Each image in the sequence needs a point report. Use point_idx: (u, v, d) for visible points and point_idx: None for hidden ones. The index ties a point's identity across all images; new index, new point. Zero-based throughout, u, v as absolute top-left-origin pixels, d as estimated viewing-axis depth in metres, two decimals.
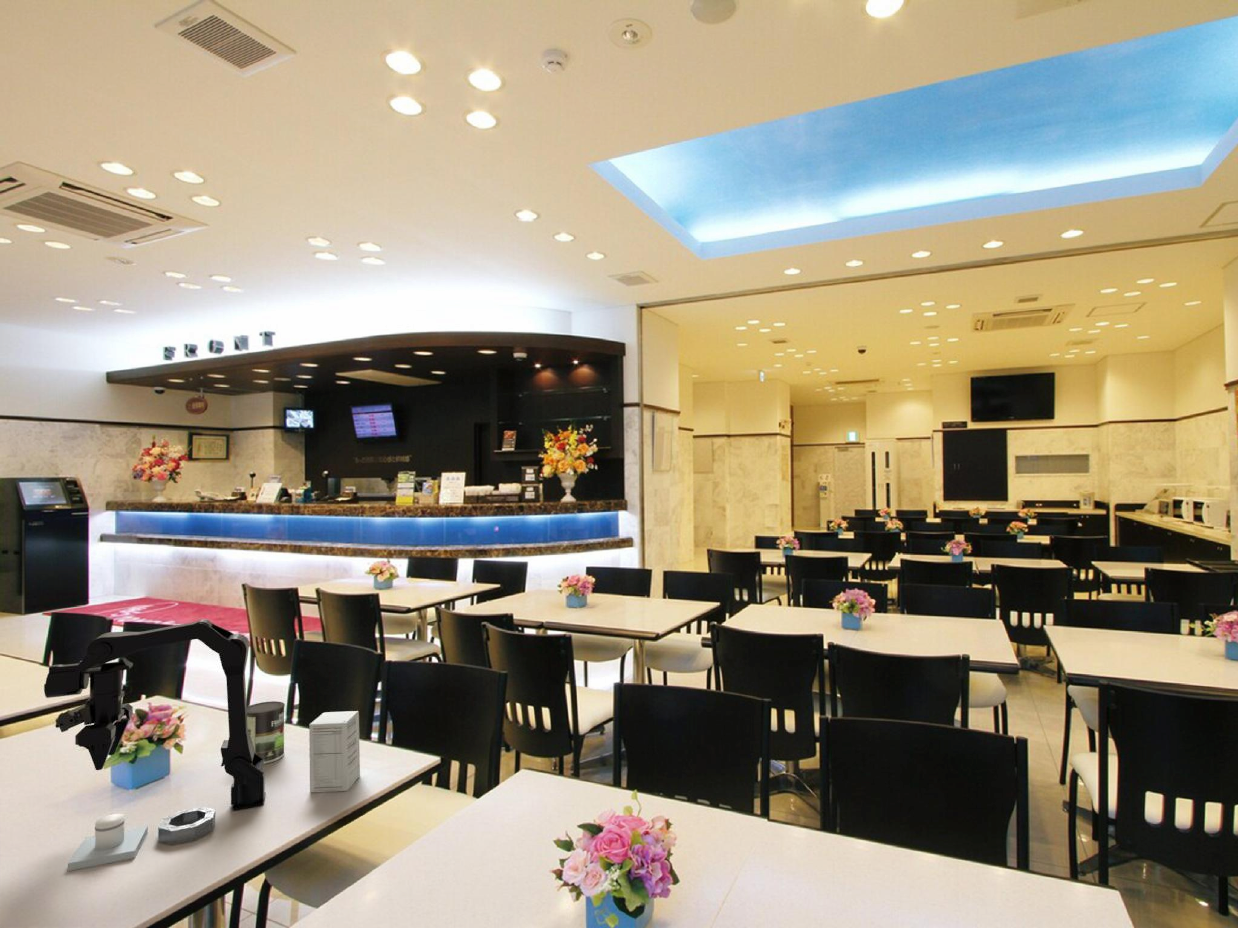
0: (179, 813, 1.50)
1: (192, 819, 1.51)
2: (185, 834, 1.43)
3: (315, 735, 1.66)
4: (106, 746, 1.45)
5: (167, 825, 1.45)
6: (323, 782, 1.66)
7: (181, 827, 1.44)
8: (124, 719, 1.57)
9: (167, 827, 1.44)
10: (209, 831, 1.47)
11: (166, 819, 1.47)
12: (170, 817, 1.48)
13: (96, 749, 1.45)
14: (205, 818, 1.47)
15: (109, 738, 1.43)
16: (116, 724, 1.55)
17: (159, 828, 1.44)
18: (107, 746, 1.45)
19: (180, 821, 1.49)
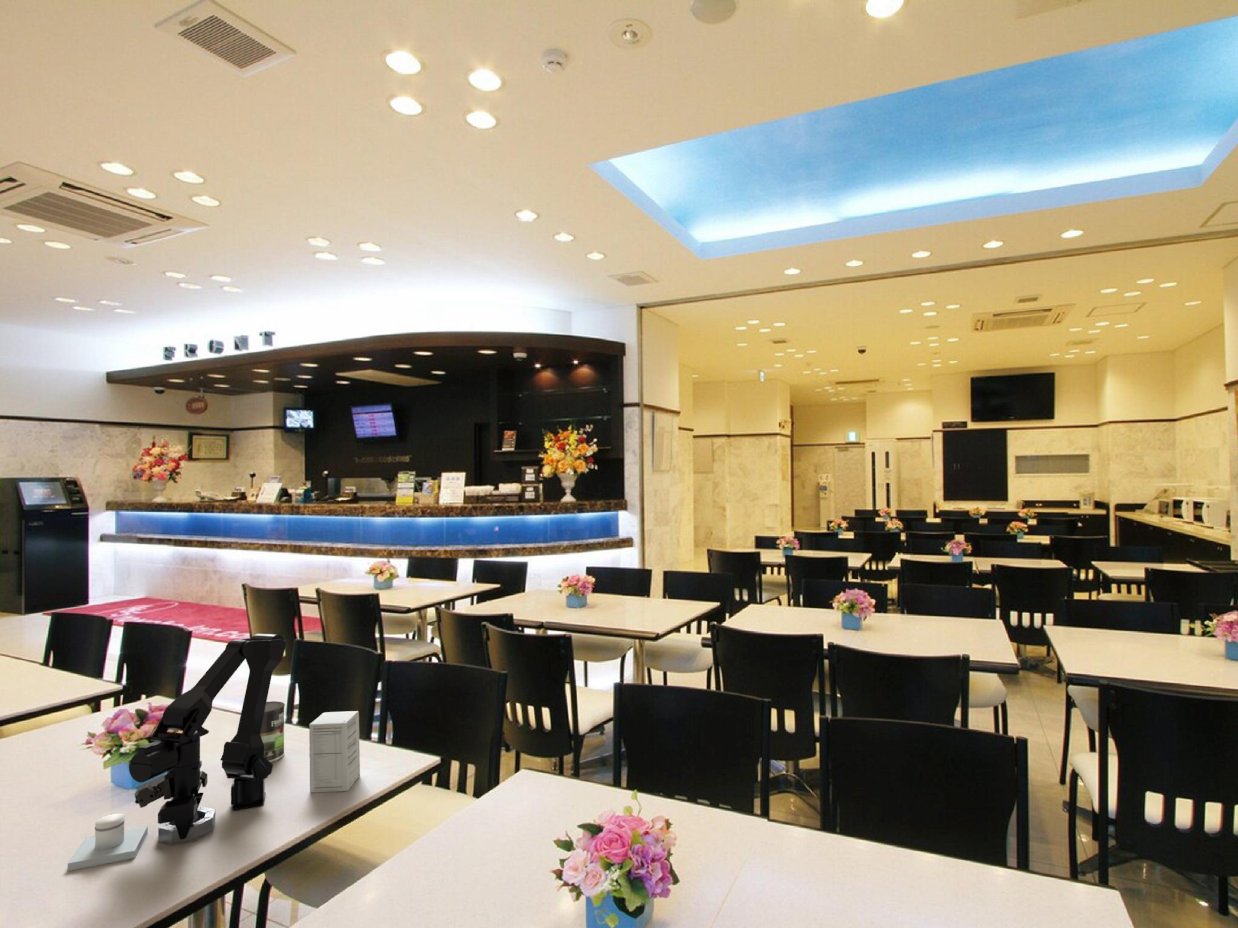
0: None
1: None
2: None
3: (315, 735, 1.66)
4: None
5: (167, 825, 1.45)
6: (323, 782, 1.66)
7: None
8: (197, 795, 1.48)
9: (167, 827, 1.44)
10: (209, 831, 1.47)
11: None
12: None
13: None
14: (205, 818, 1.47)
15: (192, 815, 1.37)
16: None
17: (159, 828, 1.44)
18: None
19: None
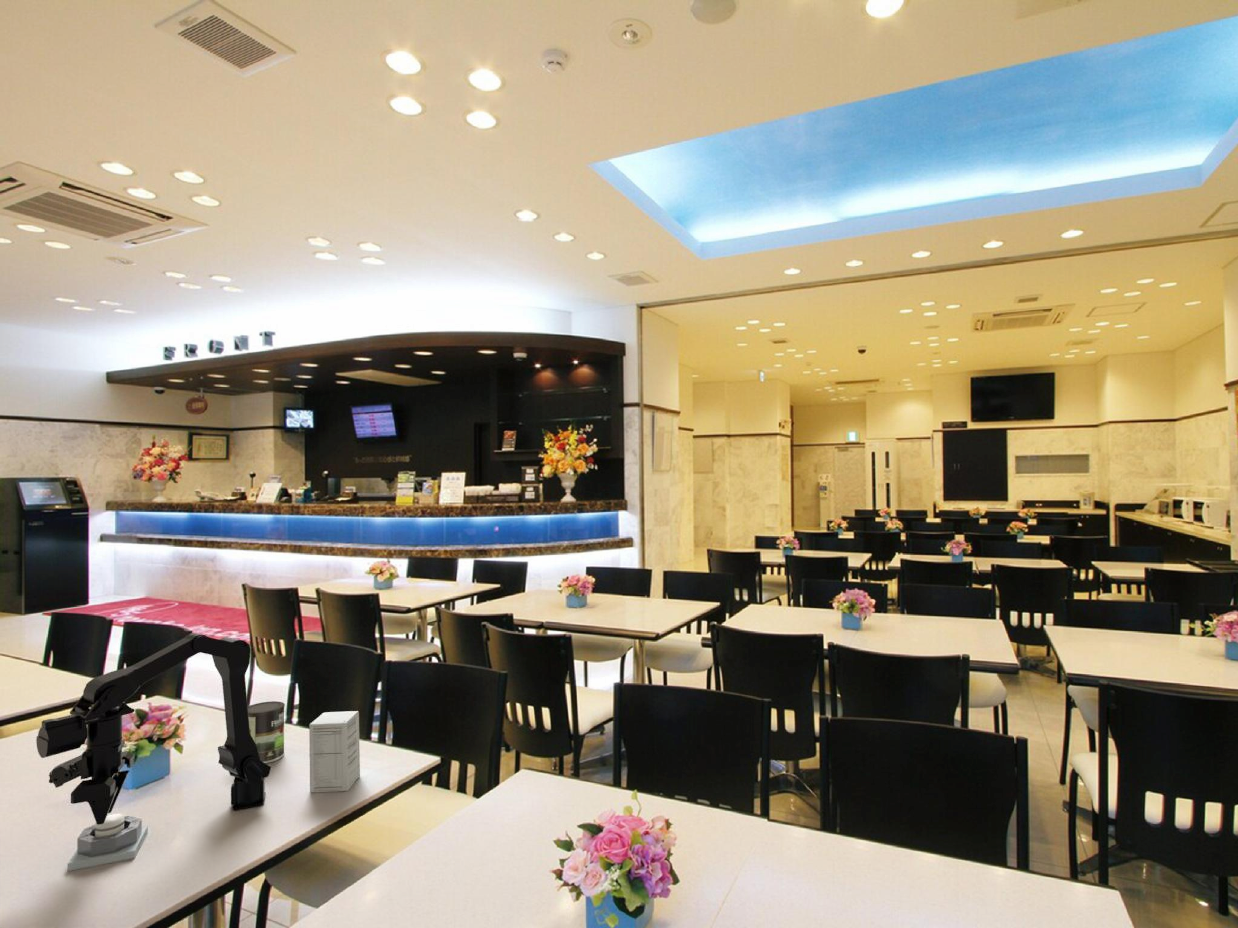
0: None
1: None
2: (105, 845, 1.36)
3: (315, 735, 1.66)
4: (108, 798, 1.34)
5: (87, 836, 1.38)
6: (323, 782, 1.66)
7: (101, 838, 1.37)
8: (122, 773, 1.42)
9: (87, 838, 1.37)
10: (133, 842, 1.40)
11: (87, 830, 1.40)
12: (92, 827, 1.41)
13: (98, 802, 1.33)
14: (129, 828, 1.40)
15: (108, 795, 1.30)
16: (113, 779, 1.40)
17: (78, 839, 1.37)
18: (109, 798, 1.34)
19: None
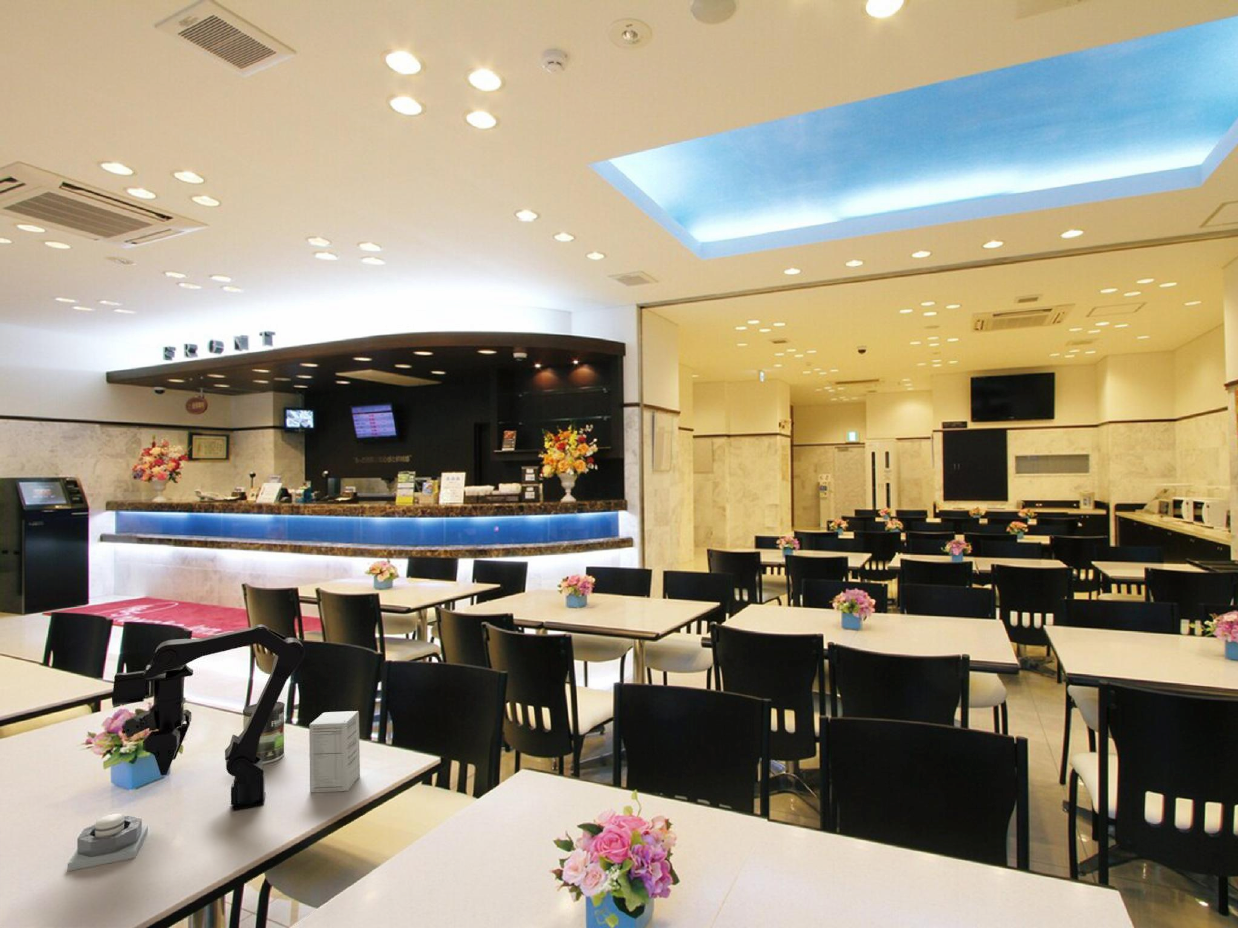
0: None
1: None
2: (105, 845, 1.36)
3: (315, 735, 1.66)
4: (171, 752, 1.48)
5: (87, 836, 1.38)
6: (323, 782, 1.66)
7: (101, 838, 1.37)
8: (184, 725, 1.60)
9: (87, 838, 1.37)
10: (133, 842, 1.40)
11: (87, 830, 1.40)
12: (92, 827, 1.41)
13: (162, 755, 1.48)
14: (129, 828, 1.40)
15: (175, 744, 1.46)
16: (177, 730, 1.58)
17: (78, 839, 1.37)
18: (172, 752, 1.48)
19: None
